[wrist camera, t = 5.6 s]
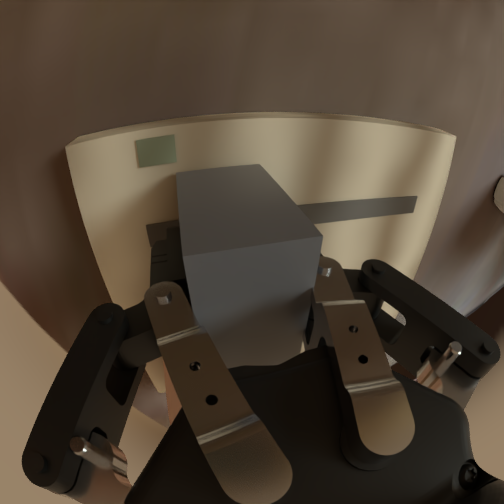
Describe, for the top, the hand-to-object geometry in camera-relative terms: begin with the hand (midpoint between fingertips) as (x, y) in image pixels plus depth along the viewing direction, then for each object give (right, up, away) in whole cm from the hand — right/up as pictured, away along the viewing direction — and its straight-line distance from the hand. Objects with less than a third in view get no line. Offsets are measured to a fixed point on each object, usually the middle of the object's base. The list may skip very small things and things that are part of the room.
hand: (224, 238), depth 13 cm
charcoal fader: (0, +1, +1) cm, 1 cm away
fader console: (+4, -2, +6) cm, 7 cm away
